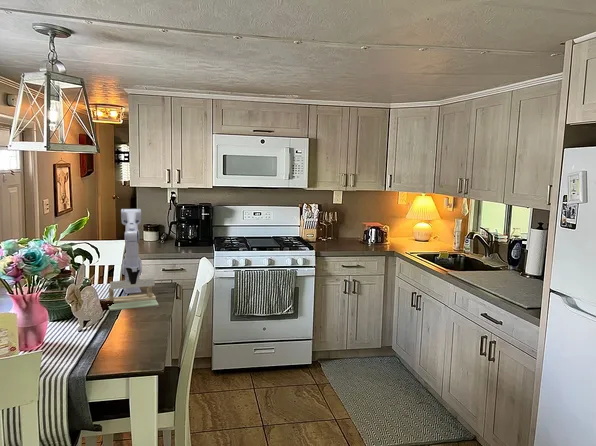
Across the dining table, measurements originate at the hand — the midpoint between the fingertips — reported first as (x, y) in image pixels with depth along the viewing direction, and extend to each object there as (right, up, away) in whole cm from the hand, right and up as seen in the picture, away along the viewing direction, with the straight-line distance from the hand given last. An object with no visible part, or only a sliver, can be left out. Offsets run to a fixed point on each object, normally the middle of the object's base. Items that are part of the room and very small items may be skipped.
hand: (132, 283), depth 229 cm
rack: (-4, -9, +9) cm, 13 cm away
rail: (0, -2, 0) cm, 2 cm away
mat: (+1, -11, 0) cm, 11 cm away
